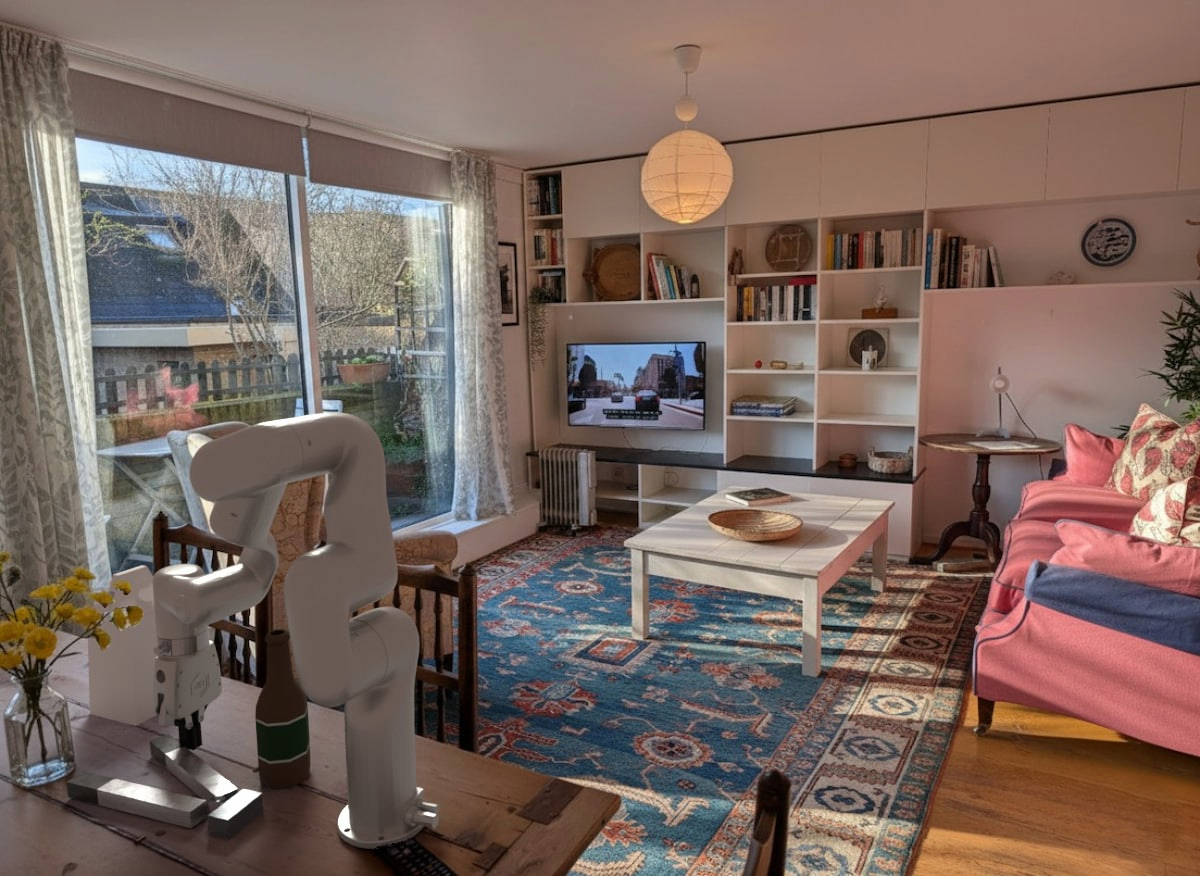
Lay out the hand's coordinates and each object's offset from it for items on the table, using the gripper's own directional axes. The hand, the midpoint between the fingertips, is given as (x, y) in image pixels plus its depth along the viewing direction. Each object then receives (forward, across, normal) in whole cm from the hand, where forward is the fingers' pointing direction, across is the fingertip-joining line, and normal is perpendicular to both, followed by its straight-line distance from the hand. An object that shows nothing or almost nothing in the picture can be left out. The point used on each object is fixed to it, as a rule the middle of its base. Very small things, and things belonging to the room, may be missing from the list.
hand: (190, 746), depth 136 cm
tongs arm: (+1, -7, -7) cm, 10 cm away
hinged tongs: (+1, -13, -8) cm, 15 cm away
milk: (+2, +10, +22) cm, 24 cm away
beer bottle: (+1, 0, -19) cm, 19 cm away
